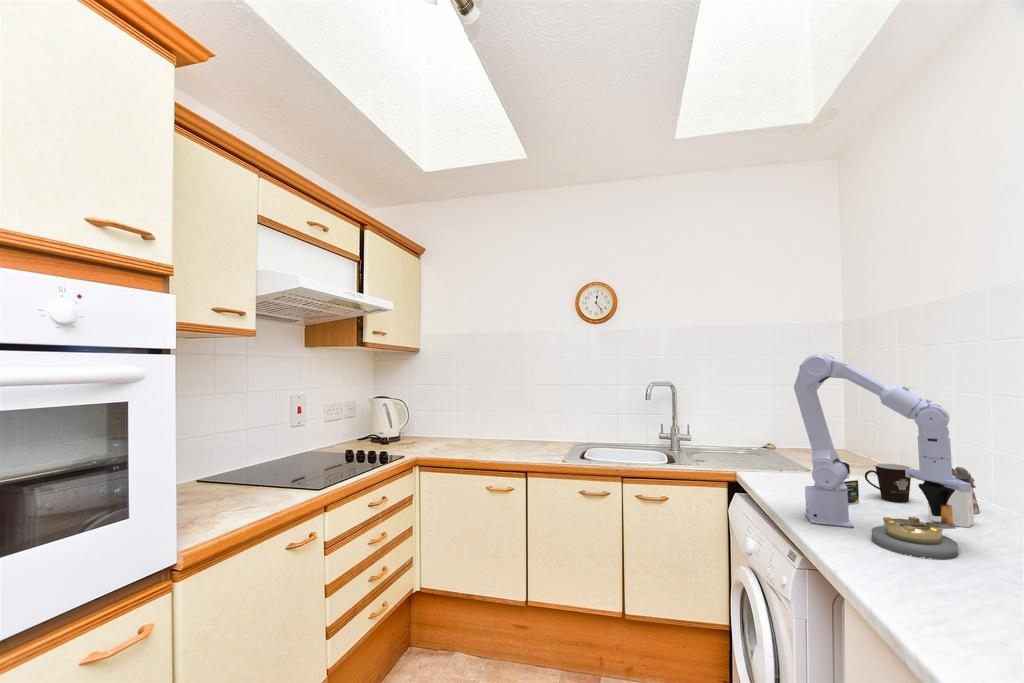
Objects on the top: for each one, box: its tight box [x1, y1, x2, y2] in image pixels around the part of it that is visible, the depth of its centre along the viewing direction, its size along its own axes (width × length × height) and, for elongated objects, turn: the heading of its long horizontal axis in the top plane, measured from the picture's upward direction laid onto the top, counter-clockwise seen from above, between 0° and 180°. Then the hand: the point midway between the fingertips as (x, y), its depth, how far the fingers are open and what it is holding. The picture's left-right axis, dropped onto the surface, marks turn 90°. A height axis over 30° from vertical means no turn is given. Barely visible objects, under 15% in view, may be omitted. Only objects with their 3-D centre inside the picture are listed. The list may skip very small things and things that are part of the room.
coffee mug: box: [864, 463, 913, 504], centre depth 143 cm, size 12×9×10 cm
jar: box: [927, 473, 975, 528], centre depth 123 cm, size 9×8×12 cm
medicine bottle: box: [841, 460, 860, 505], centre depth 142 cm, size 7×7×12 cm
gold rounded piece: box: [882, 504, 956, 545], centre depth 108 cm, size 14×10×7 cm
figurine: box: [952, 466, 981, 515], centre depth 132 cm, size 7×7×12 cm
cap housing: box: [870, 525, 959, 560], centre depth 107 cm, size 15×15×2 cm
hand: (938, 515), depth 110 cm, fingers closed
